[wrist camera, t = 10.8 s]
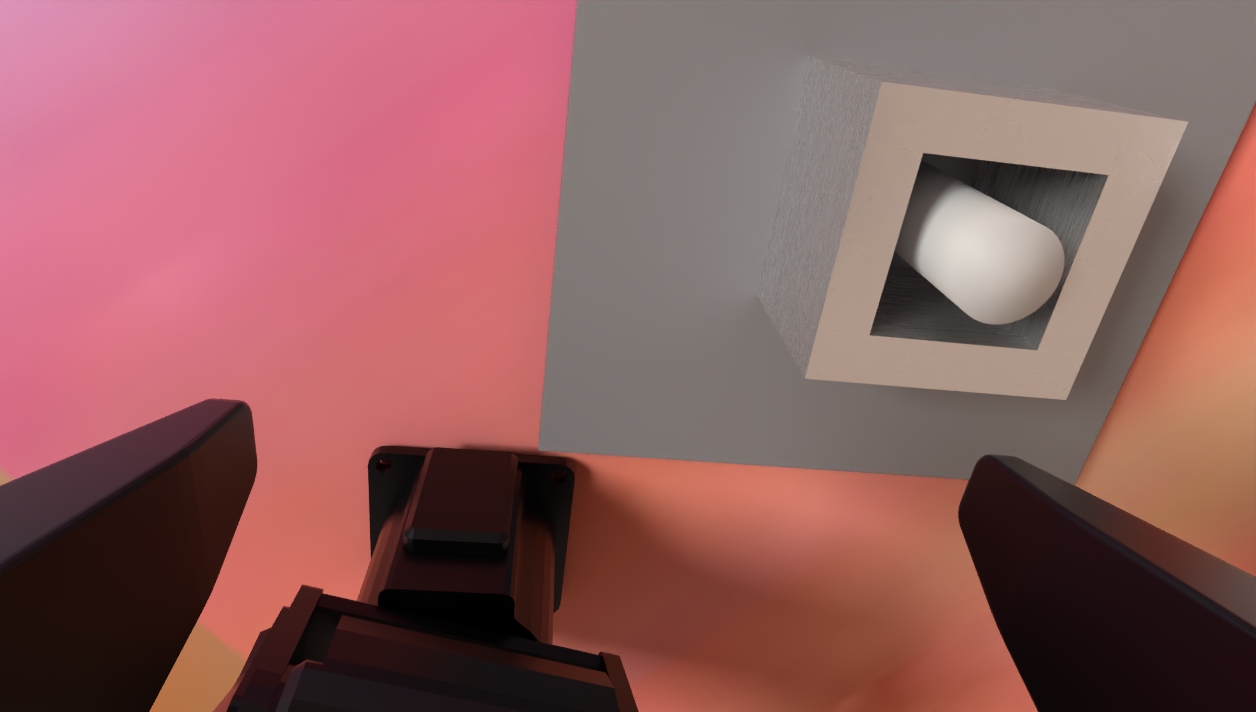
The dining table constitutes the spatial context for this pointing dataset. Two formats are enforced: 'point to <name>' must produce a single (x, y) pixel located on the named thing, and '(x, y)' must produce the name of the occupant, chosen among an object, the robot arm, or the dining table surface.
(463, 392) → the dining table surface
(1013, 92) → the grey hollow square block
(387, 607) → the robot arm
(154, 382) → the dining table surface
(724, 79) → the post plate
